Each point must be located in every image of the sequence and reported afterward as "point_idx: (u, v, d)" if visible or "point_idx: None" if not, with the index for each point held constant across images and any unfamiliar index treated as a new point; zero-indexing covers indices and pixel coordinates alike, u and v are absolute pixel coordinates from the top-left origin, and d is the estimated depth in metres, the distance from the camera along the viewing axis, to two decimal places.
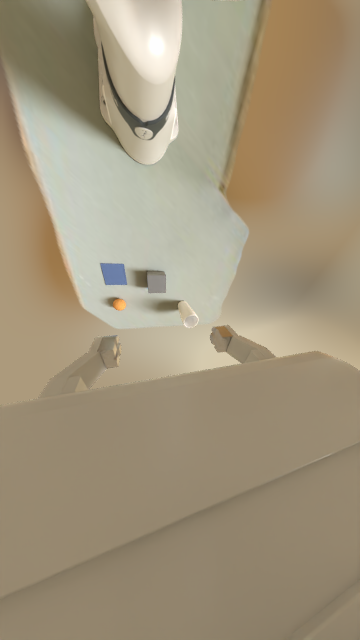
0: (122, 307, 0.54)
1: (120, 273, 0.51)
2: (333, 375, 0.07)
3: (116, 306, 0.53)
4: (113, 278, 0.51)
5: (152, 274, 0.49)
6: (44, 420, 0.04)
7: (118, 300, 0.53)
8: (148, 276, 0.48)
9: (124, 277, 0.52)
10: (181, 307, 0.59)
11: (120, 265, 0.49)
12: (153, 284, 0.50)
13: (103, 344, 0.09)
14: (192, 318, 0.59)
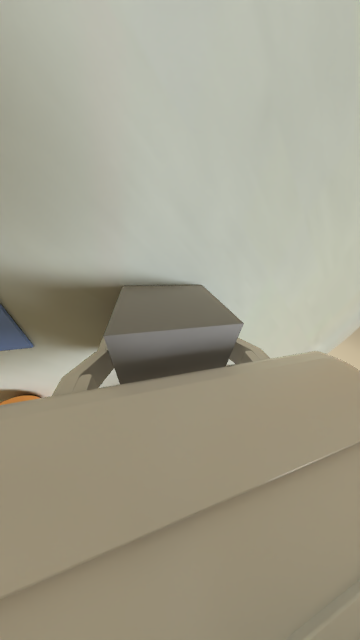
0: None
1: None
2: (333, 375, 0.07)
3: None
4: None
5: (150, 317, 0.07)
6: (44, 420, 0.04)
7: None
8: (117, 342, 0.06)
9: (2, 320, 0.10)
10: None
11: None
12: (159, 375, 0.08)
13: None
14: None
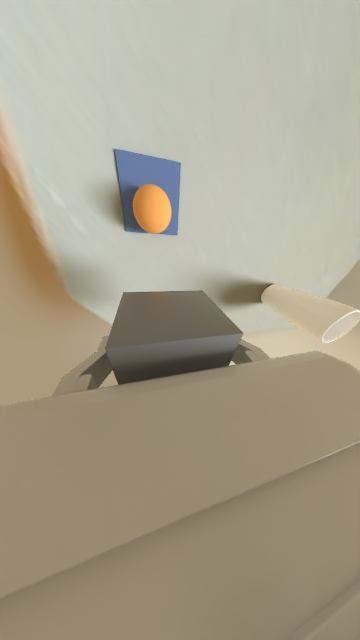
0: None
1: None
2: (333, 375, 0.07)
3: None
4: None
5: (151, 327, 0.07)
6: (44, 420, 0.04)
7: (155, 227, 0.17)
8: (118, 354, 0.06)
9: (175, 211, 0.20)
10: (288, 295, 0.27)
11: (171, 165, 0.17)
12: None
13: None
14: None
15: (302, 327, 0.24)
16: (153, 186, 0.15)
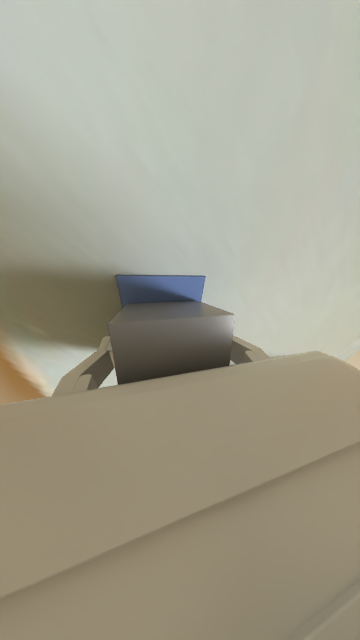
0: None
1: None
2: (333, 375, 0.07)
3: None
4: None
5: (150, 315, 0.08)
6: (44, 420, 0.04)
7: None
8: (119, 331, 0.06)
9: None
10: None
11: (192, 281, 0.12)
12: (159, 376, 0.08)
13: None
14: None
15: None
16: None
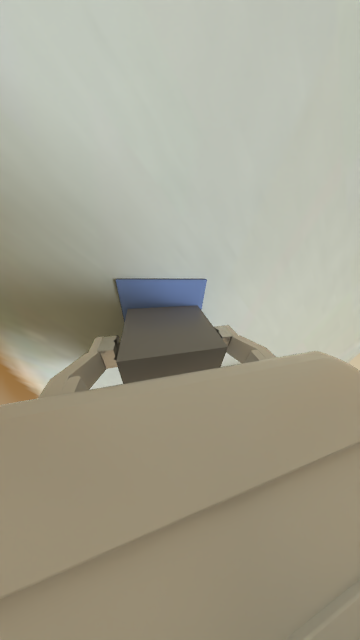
0: None
1: None
2: (333, 375, 0.07)
3: None
4: None
5: (152, 342, 0.09)
6: (44, 420, 0.04)
7: None
8: (126, 365, 0.07)
9: None
10: None
11: (193, 284, 0.12)
12: None
13: (103, 344, 0.09)
14: None
15: None
16: None
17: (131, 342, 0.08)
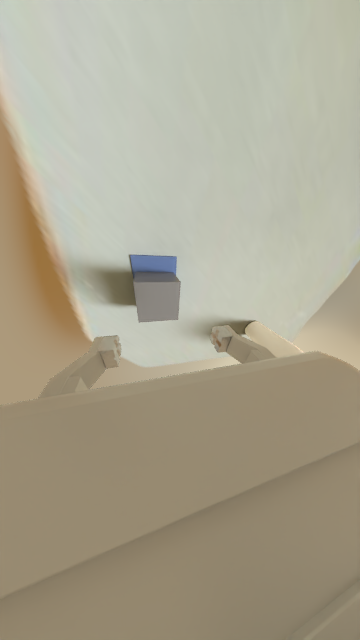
0: None
1: None
2: (333, 375, 0.07)
3: None
4: None
5: (147, 279, 0.20)
6: (44, 420, 0.04)
7: None
8: (137, 285, 0.19)
9: None
10: (263, 335, 0.33)
11: (169, 259, 0.23)
12: (151, 303, 0.21)
13: (103, 344, 0.09)
14: None
15: None
16: None
17: (138, 279, 0.20)
